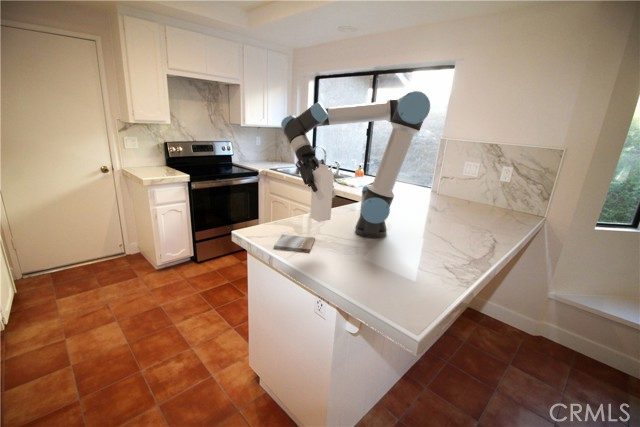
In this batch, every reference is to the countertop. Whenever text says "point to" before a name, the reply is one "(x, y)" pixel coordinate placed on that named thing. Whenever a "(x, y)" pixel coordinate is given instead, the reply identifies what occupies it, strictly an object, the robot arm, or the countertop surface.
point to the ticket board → (295, 243)
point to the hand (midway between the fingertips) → (328, 197)
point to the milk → (325, 183)
